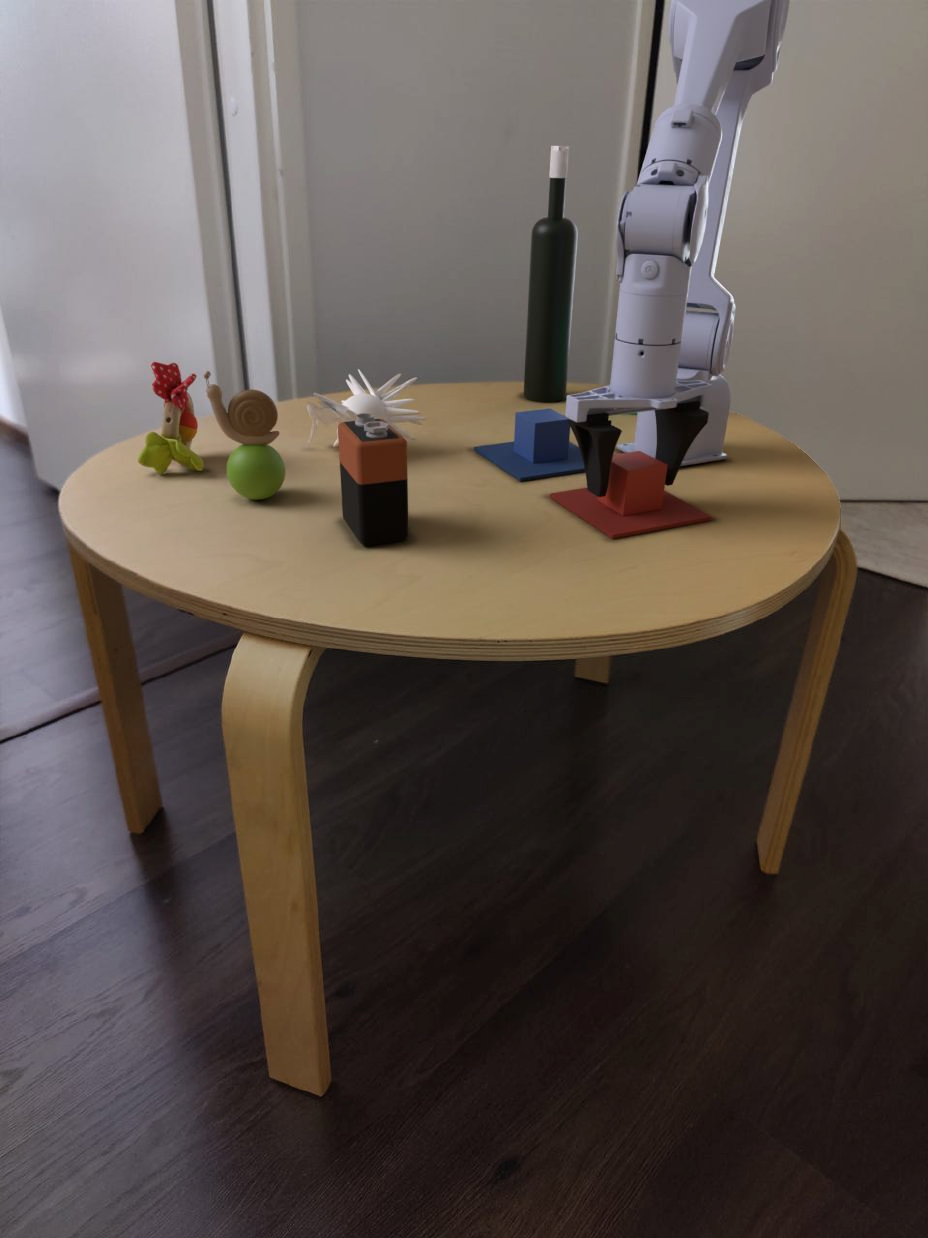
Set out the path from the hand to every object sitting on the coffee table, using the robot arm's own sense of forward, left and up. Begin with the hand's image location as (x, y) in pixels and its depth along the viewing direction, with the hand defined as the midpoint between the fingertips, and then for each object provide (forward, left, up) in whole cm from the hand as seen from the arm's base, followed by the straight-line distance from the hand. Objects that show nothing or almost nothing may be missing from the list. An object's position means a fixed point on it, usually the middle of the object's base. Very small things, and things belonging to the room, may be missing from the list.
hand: (630, 487), depth 81 cm
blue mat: (+1, -16, -2) cm, 16 cm away
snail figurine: (+32, -16, -2) cm, 36 cm away
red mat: (0, 0, -2) cm, 2 cm away
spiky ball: (+18, -26, -2) cm, 32 cm away
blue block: (+1, -16, -2) cm, 16 cm away
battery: (+24, -4, -2) cm, 25 cm away
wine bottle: (-13, -38, -2) cm, 41 cm away
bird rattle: (+37, -28, -2) cm, 47 cm away
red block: (0, 0, -2) cm, 2 cm away
